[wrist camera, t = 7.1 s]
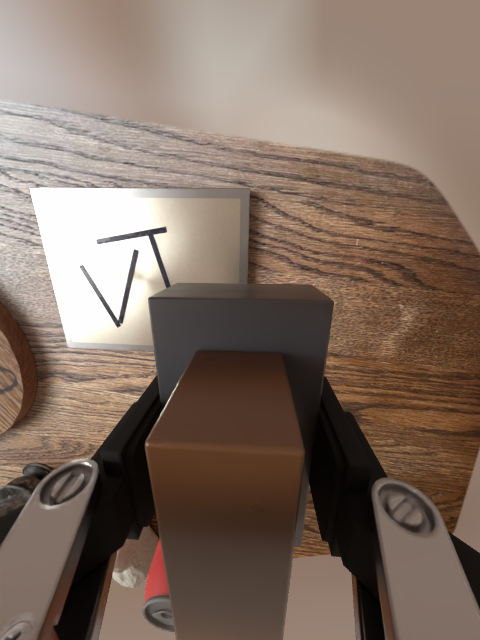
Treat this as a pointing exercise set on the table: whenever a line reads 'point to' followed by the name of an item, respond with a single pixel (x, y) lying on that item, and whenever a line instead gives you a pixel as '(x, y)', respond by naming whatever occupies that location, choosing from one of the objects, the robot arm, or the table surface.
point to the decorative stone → (135, 559)
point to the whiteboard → (135, 253)
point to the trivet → (15, 372)
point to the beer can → (158, 595)
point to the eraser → (234, 448)
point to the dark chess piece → (22, 487)
